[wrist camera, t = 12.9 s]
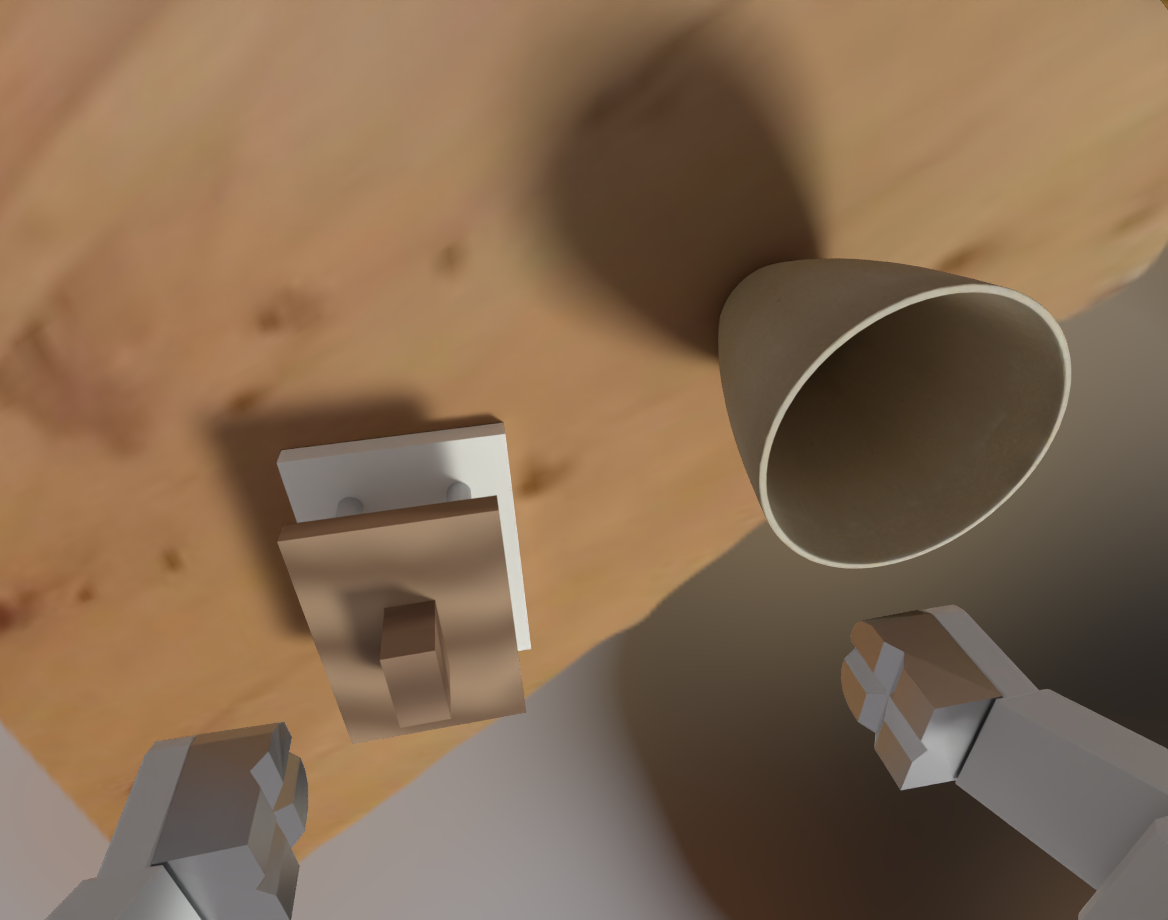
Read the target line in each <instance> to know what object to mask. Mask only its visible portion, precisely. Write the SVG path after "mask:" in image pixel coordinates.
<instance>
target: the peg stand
mask: <svg viewBox="0 0 1168 920" xmlns="http://www.w3.org/2000/svg"><path fill="white" fill-rule="evenodd" d="M277 466H278V469H279V472H280V475H281V478H282V480H283V483H284V486H285V489H286V492H287V495H288V498H289V501H290V504H291V506H292V509H293V512H294V515H295V518H296V521H297V523H300V522H307V521H314V520H321V519H328V518H336V517H343V516H350V515H357V514H364V513H372V512H379V511H386V510H393V509H401V508H408V507H415V506H422V505H429V504H437V503H444V502H451V501H458V500H465V499H473V498H480V497H487V496H494V495H497V500H498V507H499V515H500V522H501V530H502V537H503V544H504V552H505V559H506V567H507V574H508V581H509V589H510V596H511V603H512V611H513V618H514V626H515V633H516V640H517V648H518V651H521V650H527V649H531V644H530V636H529V627H528V619H527V611H526V602H525V594H524V586H523V577H522V569H521V561H520V552H519V544H518V536H517V527H516V519H515V511H514V502H513V494H512V486H511V477H510V469H509V461H508V452H507V444H506V436H505V429H504V423H496V424H488V425H480V426H472V427H464V428H456V429H448V430H440V431H432V432H424V433H416V434H408V435H400V436H392V437H384V438H376V439H368V440H360V441H352V442H344V443H336V444H328V445H320V446H312V447H304V448H296V449H288V450H281V452H280V455H279V458H278V460H277Z"/></svg>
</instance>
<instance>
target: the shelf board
mask: <svg viewBox="0 0 1168 920" xmlns="http://www.w3.org/2000/svg"><path fill="white" fill-rule="evenodd" d="M277 543H278V546H279V548H280V551H281V554H282V556H283V559H284V562H285V564H286V567H287V570H288V572H289V575H290V578H291V580H292V583H293V586H294V588H295V591H296V594H297V596H298V599H299V602H300V605H301V607H302V610H303V613H304V615H305V618H306V621H307V623H308V626H309V629H310V631H311V634H312V637H313V639H314V642H315V645H316V647H317V650H318V653H319V655H320V658H321V661H322V664H323V666H324V669H325V672H326V674H327V677H328V680H329V682H330V685H331V688H332V690H333V693H334V696H335V698H336V701H337V704H338V706H339V709H340V712H341V714H342V717H343V720H344V722H345V725H346V728H347V731H348V733H349V736H350V739H351V741H352V744H356V743H362V742H367V741H373V740H378V739H384V738H389V737H395V736H400V735H406V734H411V733H417V732H422V731H427V730H433V729H438V728H444V727H449V726H455V725H460V724H466V723H471V722H477V721H482V720H488V719H493V718H498V717H504V716H509V715H514V714H520V713H526V707H525V700H524V692H523V685H522V677H521V670H520V663H519V655H518V648H517V640H516V633H515V626H514V618H513V611H512V603H511V596H510V589H509V581H508V574H507V567H506V559H505V552H504V544H503V537H502V530H501V522H500V515H499V507H498V500H497V495H494V496H487V497H480V498H473V499H465V500H458V501H451V502H444V503H437V504H429V505H422V506H415V507H408V508H401V509H393V510H386V511H379V512H372V513H364V514H357V515H350V516H343V517H336V518H328V519H321V520H314V521H307V522H300V523H292V524H285V525H282V528H281V531H280V534H279V537H278V540H277Z"/></svg>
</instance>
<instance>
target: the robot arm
mask: <svg viewBox="0 0 1168 920" xmlns="http://www.w3.org/2000/svg"><path fill="white" fill-rule="evenodd" d="M850 640H851V641H852V642H853V644H854V646H855V647H856V648H855V649H854V650H853V651H852V652H851V653H850V654H849V655H848V656H847V657H846V658H845V659H844V662H843V666H842V671H841V680H842V687H843V693H844V696H845V698H846V700H847V703H848V706H849V707H850V709H851V711H852V713H853V714H854V716H855V717H856V719H857V721H858V722H860V723H861V724H863V725H864V726H866V727H867V728H869V729H870V730H872V731H874V732H875V733H876V738H875V750H876V751H877V753H878V755H879V756H880V758H881V759H882V761H883V763H884V764H885V766H886V767H887V769H888V770H889V772H890V774H891V775H892V777H893V778H894V780H895V781H896V783H897V785H898V786H899V788H900V789H901V790H903V789H909V788H914V787H920V786H925V785H931V784H936V783H942V782H947V781H953V780H957V781H956V783H955V784H957V785H958V786H960V787H961V788H962V789H964V790H965V791H966V792H967V793H969V794H970V795H971V796H973V797H974V798H976V799H977V800H978V801H980V802H981V803H982V804H983V805H985V806H986V807H987V808H989V809H990V810H991V811H993V812H994V813H995V814H997V815H998V816H999V817H1001V818H1002V819H1003V820H1005V821H1006V822H1007V823H1008V824H1010V825H1011V826H1013V827H1014V828H1015V829H1016V830H1018V831H1019V832H1020V833H1022V834H1023V835H1024V836H1026V837H1027V838H1028V839H1030V840H1031V841H1032V842H1034V843H1035V844H1036V845H1038V846H1039V847H1040V848H1042V849H1043V850H1044V851H1046V852H1047V853H1048V854H1050V855H1051V856H1052V857H1054V858H1055V859H1056V860H1057V861H1059V862H1060V863H1062V864H1063V865H1064V866H1065V867H1067V868H1068V869H1069V870H1071V871H1072V872H1073V873H1075V874H1076V875H1077V876H1079V877H1080V878H1081V879H1083V880H1084V881H1085V882H1087V883H1088V884H1089V885H1091V886H1092V887H1093V888H1095V889H1096V890H1097V892H1096V893H1095V894H1094V895H1093V897H1092V898H1091V899H1090V901H1088V903H1087V904H1086V905H1085V906H1084V908H1083V909H1082V910H1081V911H1080V913H1079V919H1078V920H1168V749H1166V748H1164V747H1162V746H1160V745H1158V744H1156V743H1154V742H1152V741H1150V740H1148V739H1146V738H1145V737H1143V736H1141V735H1139V734H1137V733H1135V732H1133V731H1131V730H1129V729H1127V728H1125V727H1123V726H1121V725H1119V724H1116V723H1115V722H1113V721H1111V720H1109V719H1107V718H1105V717H1103V716H1101V715H1098V714H1097V713H1095V712H1093V711H1091V710H1089V709H1087V708H1085V707H1083V706H1081V705H1079V704H1077V703H1075V702H1073V701H1071V700H1069V699H1067V698H1065V697H1063V696H1061V695H1059V694H1057V693H1055V692H1053V691H1051V690H1049V689H1046V690H1038V689H1037V688H1036V687H1035V686H1034V685H1033V684H1032V683H1031V681H1030V680H1029V679H1028V678H1027V677H1026V676H1025V675H1024V674H1023V673H1022V672H1021V671H1020V670H1019V669H1018V668H1017V666H1016V665H1015V664H1014V663H1013V662H1012V661H1011V660H1010V659H1009V658H1008V657H1007V656H1006V655H1005V654H1004V653H1003V651H1002V650H1001V649H1000V648H999V647H998V646H997V645H996V644H995V643H994V642H993V641H992V640H991V639H990V638H989V637H988V635H987V634H986V633H985V632H984V631H983V630H982V629H981V628H980V627H979V626H978V625H977V624H976V623H975V621H974V620H973V619H972V618H971V617H970V616H969V615H968V614H967V613H966V612H965V611H964V610H963V609H961V608H959V607H957V606H955V605H949V606H942V607H937V608H932V609H925V610H921V611H918V610H915V611H910V612H905V613H899V614H894V615H889V616H883V617H878V618H873V619H867V620H862V621H859V622H858V623H857V624H856V625H855V626H854V627H853V630H852V634H851V637H850ZM291 739H292V736H291V734H290V732H289V730H288V728H287V726H286V724H285V722H280V723H273V724H266V725H260V726H253V727H246V728H239V729H232V730H225V731H219V732H212V733H205V734H198V735H192V736H186V737H180V738H174V739H168V740H162V741H156V742H155V743H154V745H153V746H152V747H151V748H150V750H149V751H148V752H147V753H146V755H145V756H144V759H143V761H142V764H141V766H140V769H139V771H138V774H137V777H136V779H135V782H134V784H133V787H132V789H131V792H130V794H129V797H128V799H127V802H126V804H125V807H124V810H123V812H122V815H121V817H120V820H119V822H118V825H117V827H116V830H115V832H114V835H113V837H112V840H111V842H110V845H109V848H108V850H107V853H106V855H105V858H104V860H103V863H102V865H101V868H100V870H99V873H98V875H97V877H96V878H91V879H88V880H83V881H82V882H81V883H80V884H79V885H78V886H77V887H76V888H75V889H74V890H73V891H72V892H71V893H70V894H69V895H68V896H67V897H66V898H65V899H64V900H63V901H62V903H61V904H60V905H59V906H58V907H57V908H56V909H55V910H54V911H53V912H52V913H51V914H50V915H49V916H48V917H47V918H46V919H45V920H291V917H292V911H293V905H294V898H295V892H296V886H297V879H298V873H299V867H300V866H299V863H298V861H297V859H296V857H295V855H294V853H293V851H292V849H291V848H292V847H293V846H294V844H295V843H296V842H297V840H298V839H299V838H300V837H301V835H302V834H303V833H304V831H305V828H306V820H307V813H308V782H307V777H306V771H305V768H304V765H303V763H302V760H301V758H300V757H298V756H296V755H294V754H292V753H290V752H289V750H290V745H291Z"/></svg>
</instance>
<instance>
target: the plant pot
mask: <svg viewBox="0 0 1168 920" xmlns="http://www.w3.org/2000/svg"><path fill="white" fill-rule="evenodd" d="M718 351H719V366H720V375H721V382H722V388H723V393H724V398H725V403H726V408H727V412H728V416H729V420H730V424H731V428H732V431H733V434H734V437H735V441H736V444H737V447H738V450H739V453H740V455H741V458H742V461H743V464H744V467H745V469H746V472H747V474H748V477H749V479H750V482H751V484H752V486H753V489H754V491H755V494H756V496H757V499H758V501H759V503H760V506H761V508H762V510H763V512H764V515H765V517H766V519H767V521H768V523H769V524H770V526H771V528H772V530H773V531H774V532H775V534H776V535H777V536H778V537H779V538H780V539H781V540H782V542H784V543H785V544H786V545H787V546H788V547H789V548H790V549H792V550H793V551H795V552H796V553H798V554H800V555H801V556H803V557H805V558H807V559H809V560H811V561H814V562H817V563H820V564H824V565H828V566H833V567H840V568H870V567H877V566H884V565H889V564H893V563H897V562H901V561H904V560H908V559H911V558H914V557H917V556H919V555H922V554H925V553H927V552H929V551H932V550H934V549H936V548H938V547H940V546H942V545H944V544H946V543H948V542H950V541H952V540H954V539H955V538H957V537H958V536H960V535H962V534H964V533H965V532H967V531H968V530H969V529H971V528H972V527H974V526H975V525H977V524H978V523H980V522H981V521H982V520H984V519H985V518H986V517H988V516H989V515H990V514H991V513H993V512H994V511H995V510H996V509H997V508H998V507H999V506H1000V505H1002V504H1003V503H1004V502H1005V501H1006V500H1007V499H1008V498H1009V497H1010V496H1011V495H1012V494H1013V493H1014V492H1015V491H1016V490H1017V489H1018V488H1019V487H1020V486H1021V485H1022V484H1023V483H1024V481H1025V480H1026V479H1027V478H1028V476H1029V475H1030V474H1031V473H1032V471H1033V470H1034V469H1035V468H1036V466H1037V465H1038V464H1039V462H1040V461H1041V459H1042V458H1043V456H1044V455H1045V453H1046V451H1047V450H1048V448H1049V446H1050V444H1051V442H1052V440H1053V439H1054V437H1055V435H1056V433H1057V431H1058V428H1059V426H1060V423H1061V420H1062V418H1063V415H1064V412H1065V409H1066V406H1067V402H1068V398H1069V392H1070V385H1071V360H1070V354H1069V350H1068V345H1067V341H1066V338H1065V336H1064V334H1063V331H1062V329H1061V328H1060V326H1059V325H1058V323H1057V322H1056V320H1055V319H1054V317H1053V316H1052V315H1051V314H1050V313H1049V312H1048V311H1047V310H1046V309H1045V308H1044V307H1043V306H1042V305H1041V304H1039V303H1038V302H1037V301H1035V300H1034V299H1032V298H1030V297H1029V296H1027V295H1025V294H1023V293H1021V292H1018V291H1015V290H1012V289H1010V288H1006V287H1002V286H998V285H994V284H990V283H986V282H983V281H979V280H975V279H971V278H967V277H963V276H958V275H954V274H950V273H946V272H941V271H937V270H932V269H928V268H923V267H917V266H911V265H905V264H899V263H891V262H882V261H872V260H860V259H805V260H795V261H787V262H781V263H775V264H772V265H768V266H765V267H762V268H760V269H758V270H756V271H755V272H753V273H751V274H750V275H748V276H747V277H746V278H745V279H743V280H742V281H741V282H740V283H739V284H738V285H737V286H736V287H735V289H734V290H733V291H732V292H731V294H730V295H729V297H728V298H727V300H726V302H725V304H724V307H723V309H722V312H721V315H720V320H719V332H718Z"/></svg>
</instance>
